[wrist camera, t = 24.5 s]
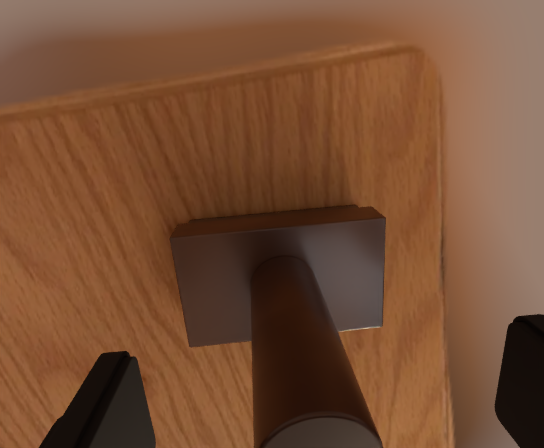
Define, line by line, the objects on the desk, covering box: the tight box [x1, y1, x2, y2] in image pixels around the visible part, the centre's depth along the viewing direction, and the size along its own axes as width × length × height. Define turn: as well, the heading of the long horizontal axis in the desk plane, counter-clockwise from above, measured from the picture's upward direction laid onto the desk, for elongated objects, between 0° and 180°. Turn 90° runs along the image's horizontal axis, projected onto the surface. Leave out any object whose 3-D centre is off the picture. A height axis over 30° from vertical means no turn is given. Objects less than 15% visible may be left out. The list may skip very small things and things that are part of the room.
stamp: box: [170, 205, 386, 448], centre depth 11 cm, size 8×4×10 cm, turn 94°
